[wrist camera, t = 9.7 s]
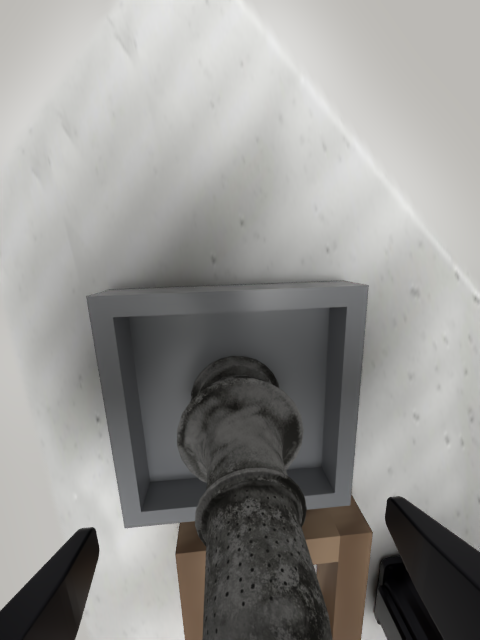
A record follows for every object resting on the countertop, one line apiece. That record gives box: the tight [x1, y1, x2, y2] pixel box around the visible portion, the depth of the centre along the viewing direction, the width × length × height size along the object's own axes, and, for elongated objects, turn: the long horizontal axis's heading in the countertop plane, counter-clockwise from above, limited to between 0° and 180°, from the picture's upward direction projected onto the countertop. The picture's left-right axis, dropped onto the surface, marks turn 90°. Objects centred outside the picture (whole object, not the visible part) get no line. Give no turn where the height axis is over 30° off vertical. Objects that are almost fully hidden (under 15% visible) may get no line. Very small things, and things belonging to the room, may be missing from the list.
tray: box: [86, 281, 369, 528], centre depth 15 cm, size 13×13×3 cm
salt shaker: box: [177, 356, 332, 640], centre depth 10 cm, size 6×6×12 cm
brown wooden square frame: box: [175, 495, 373, 640], centre depth 18 cm, size 12×12×3 cm
